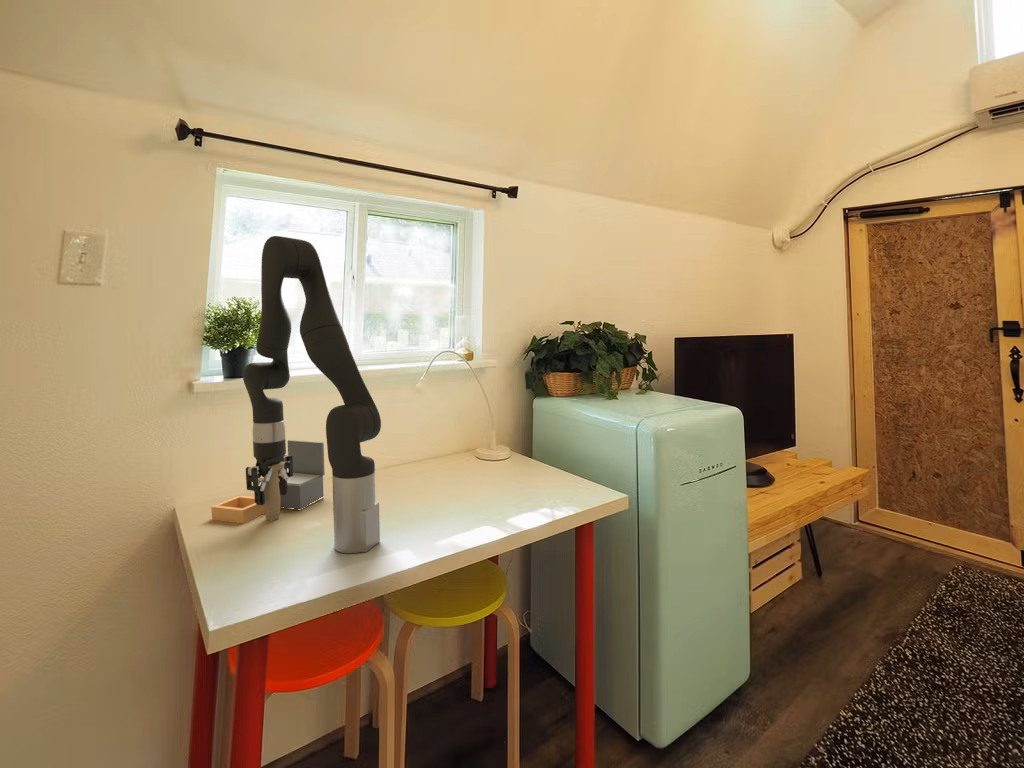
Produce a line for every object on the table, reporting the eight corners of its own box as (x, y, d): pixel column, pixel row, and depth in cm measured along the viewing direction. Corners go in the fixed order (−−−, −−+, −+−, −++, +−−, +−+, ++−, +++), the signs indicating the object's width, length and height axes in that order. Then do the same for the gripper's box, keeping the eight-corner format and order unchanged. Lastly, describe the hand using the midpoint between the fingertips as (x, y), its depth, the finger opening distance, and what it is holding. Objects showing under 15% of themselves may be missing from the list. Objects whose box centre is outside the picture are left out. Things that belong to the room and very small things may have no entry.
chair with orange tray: (325, 497, 136) (323, 442, 134) (269, 526, 114) (266, 461, 113) (275, 492, 140) (272, 438, 138) (212, 519, 118) (208, 456, 117)
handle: (284, 521, 118) (281, 465, 116) (256, 523, 116) (254, 467, 115) (287, 514, 122) (285, 460, 121) (261, 516, 121) (259, 462, 119)
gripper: (260, 445, 109) (262, 510, 111) (300, 433, 123) (302, 491, 125) (234, 443, 111) (237, 507, 113) (277, 432, 125) (279, 489, 127)
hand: (271, 499), depth 119 cm, fingers open, 7 cm apart
